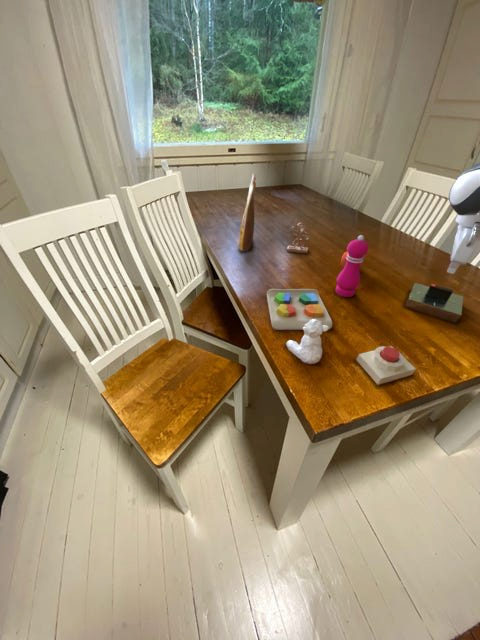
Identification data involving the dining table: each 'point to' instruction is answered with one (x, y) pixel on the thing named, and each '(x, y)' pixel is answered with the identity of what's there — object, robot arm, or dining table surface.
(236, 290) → the dining table surface
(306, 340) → the sitting furry creature
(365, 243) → the pepper mill
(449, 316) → the panel
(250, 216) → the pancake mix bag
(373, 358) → the button block
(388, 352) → the button
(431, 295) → the black switch lever
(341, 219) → the dining table surface
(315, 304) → the puzzle board
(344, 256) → the apple
